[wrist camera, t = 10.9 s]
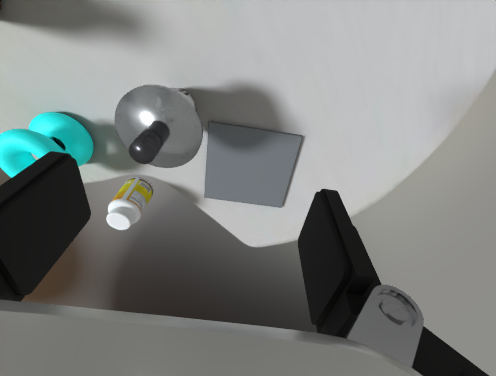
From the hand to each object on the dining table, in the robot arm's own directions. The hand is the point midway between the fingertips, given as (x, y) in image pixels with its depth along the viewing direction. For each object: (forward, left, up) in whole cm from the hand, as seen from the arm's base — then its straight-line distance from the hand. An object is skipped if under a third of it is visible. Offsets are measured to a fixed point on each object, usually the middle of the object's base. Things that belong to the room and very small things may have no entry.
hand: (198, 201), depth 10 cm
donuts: (+17, -29, -34) cm, 48 cm away
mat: (+18, +4, -33) cm, 38 cm away
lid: (+8, -9, -23) cm, 26 cm away
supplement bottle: (+26, -17, -34) cm, 46 cm away
